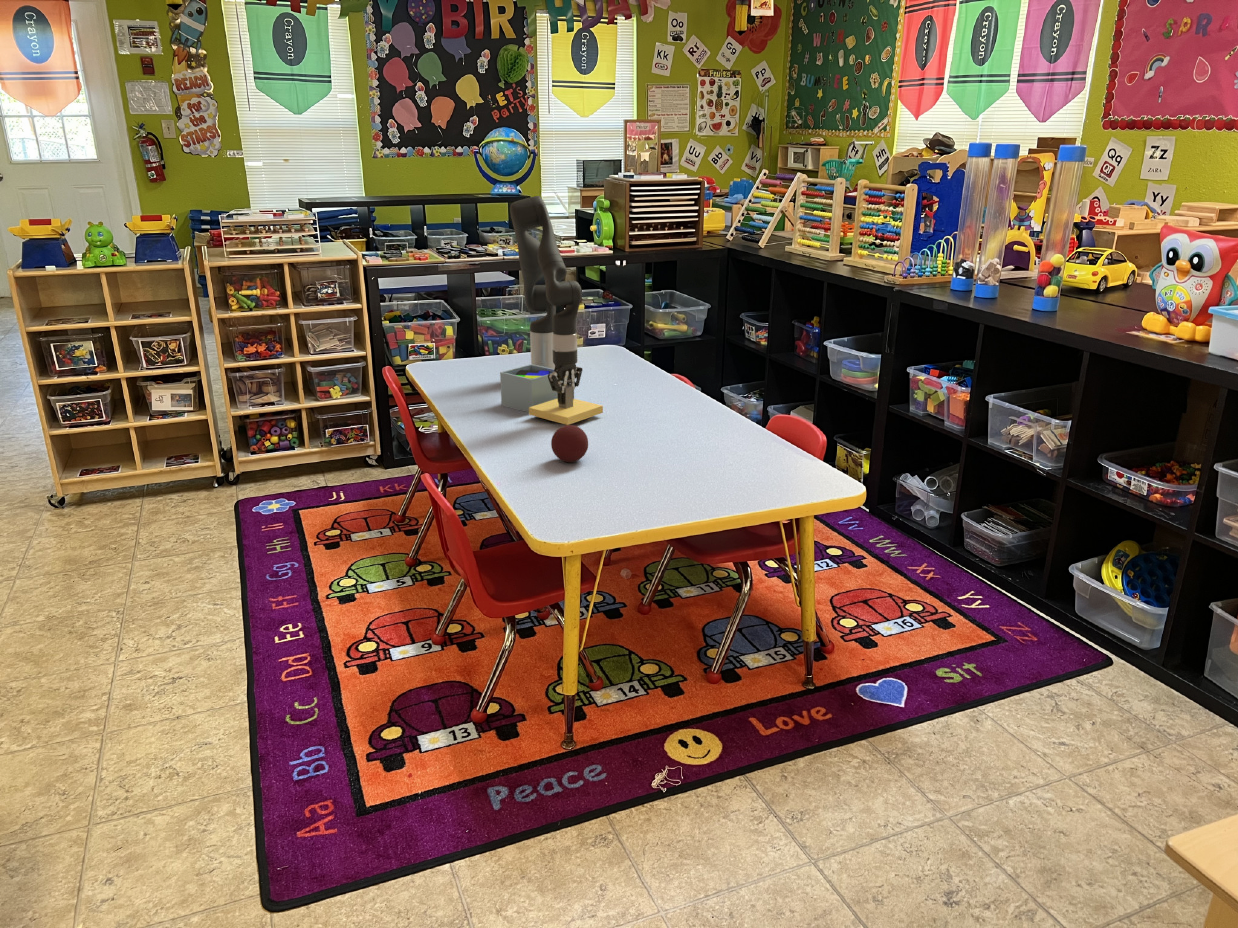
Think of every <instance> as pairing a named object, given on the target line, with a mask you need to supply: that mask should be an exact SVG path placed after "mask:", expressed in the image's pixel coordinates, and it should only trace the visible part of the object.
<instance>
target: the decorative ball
mask: <svg viewBox="0 0 1238 928" xmlns="http://www.w3.org/2000/svg"><path fill="white" fill-rule="evenodd" d="M550 444H551V445H550V446H551V449H552V452H553V453H554V456H555V457H557V458H558V459H559V460H560V461H563V462H566V463H573V462H577V461H579V460H581V459H582V458H583V457H584V456H585V455H586V453H587V451H588V448H589V439H588V435H587V434H586V432H585V431H584V430H583V429H582V428H581V427H580V426H576V425H573V424H569V425H566V424H564V425H563V426H560V427H559V428H558V429H556V431H554V433H553V434H552V437H551V440H550Z"/></svg>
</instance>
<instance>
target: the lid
mask: <svg viewBox="0 0 1238 928" xmlns="http://www.w3.org/2000/svg"><path fill="white" fill-rule="evenodd" d="M560 388H561V386H560ZM564 393H565V404H563V405H562V404H559V403H558V399H554V400H551V401H548V402H545V403H542V404H538V405H535V406H532V407H529V412H528V415H529V416H534V417H537V418H541V419H545V420H548V421H552V422H555V423H559V424H562V425H573V424H575V423H578V422H580V421H583V420H586V419H589V418H593V417H595V416H597V415H600V414H603V413H604V406H603V405H602V404H597V403H593V402H589V401H586V400H581V399H576V398H574V399H573V386H570V385H566V386H565V391H564Z"/></svg>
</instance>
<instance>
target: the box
mask: <svg viewBox="0 0 1238 928" xmlns="http://www.w3.org/2000/svg"><path fill="white" fill-rule="evenodd" d="M519 370H537V371H550V374H552V373H553V372H554V369H551V368H547V367H542V366H537V365H533V364H531V363H530V364H528V365H524V366H519V367H515V368H512V369H508V370H504V371H500V373H499V374H500V375H499V376H500V377H499V378H500V397H501V398H500V399H501V400H500V402H501V406H503V407H507V408H511V409H514V410H518V411H522V412H527V413H529V407H532V406H535V405H538V404H542V403H545V402H548V401H551V400H554V399H558V395H557V392H556V391H552V388H551V385H550V382H549V379H548V375H544V376H541V377H537V378H534V379H530V378H525V377H521V376H517V375H516V374H517V373H518V371H519ZM560 382H563V381H560ZM560 386H561V385H560Z"/></svg>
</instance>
